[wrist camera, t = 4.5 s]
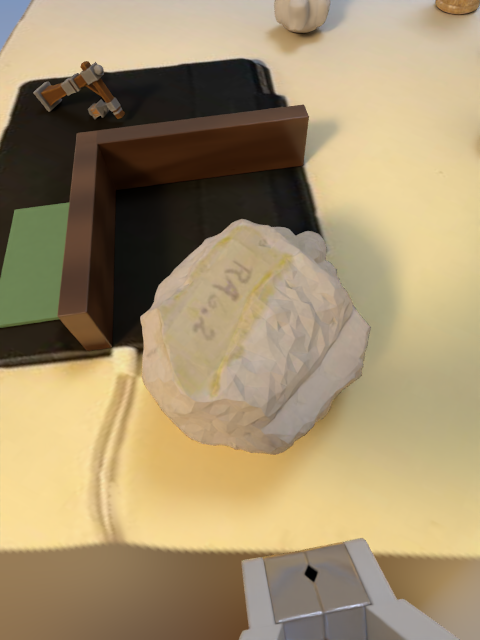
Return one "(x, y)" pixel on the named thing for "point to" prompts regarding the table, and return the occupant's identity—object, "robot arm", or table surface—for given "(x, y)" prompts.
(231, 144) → the corner stop
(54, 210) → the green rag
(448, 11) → the sprinkles bottle
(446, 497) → the table surface
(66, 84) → the wooden post with brackets
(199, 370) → the fossil replica
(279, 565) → the robot arm
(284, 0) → the grey lumpy figure
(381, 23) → the table surface
